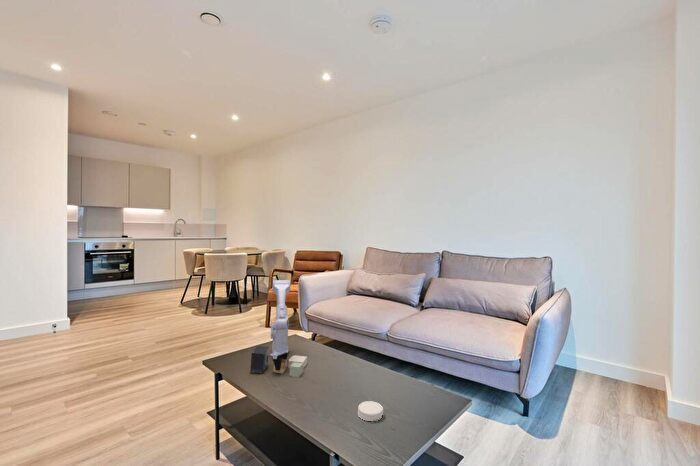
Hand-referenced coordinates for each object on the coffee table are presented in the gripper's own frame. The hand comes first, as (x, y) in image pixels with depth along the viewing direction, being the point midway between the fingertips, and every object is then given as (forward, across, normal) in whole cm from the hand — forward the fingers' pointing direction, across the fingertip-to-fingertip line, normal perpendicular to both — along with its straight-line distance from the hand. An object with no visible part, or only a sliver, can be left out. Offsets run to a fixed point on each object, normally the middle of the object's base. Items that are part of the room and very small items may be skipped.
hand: (280, 368), depth 168 cm
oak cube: (+1, 0, 0) cm, 1 cm away
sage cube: (+2, -2, -10) cm, 10 cm away
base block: (+2, +9, -6) cm, 11 cm away
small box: (+2, -2, +10) cm, 11 cm away
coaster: (+2, -28, -52) cm, 58 cm away
